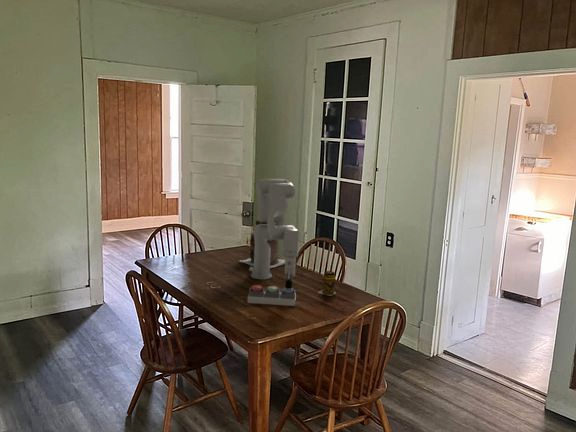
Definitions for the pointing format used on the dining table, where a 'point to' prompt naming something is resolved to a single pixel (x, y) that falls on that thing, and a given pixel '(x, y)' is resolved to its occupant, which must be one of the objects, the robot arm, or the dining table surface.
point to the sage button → (272, 289)
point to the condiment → (328, 284)
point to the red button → (257, 288)
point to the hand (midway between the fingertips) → (288, 288)
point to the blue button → (288, 291)
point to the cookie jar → (273, 256)
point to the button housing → (272, 297)
